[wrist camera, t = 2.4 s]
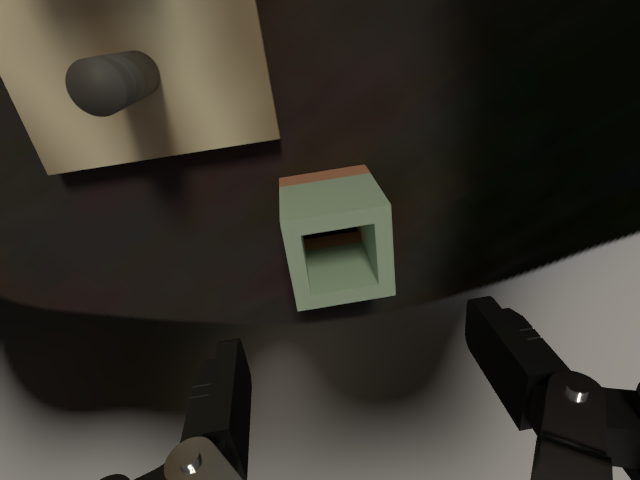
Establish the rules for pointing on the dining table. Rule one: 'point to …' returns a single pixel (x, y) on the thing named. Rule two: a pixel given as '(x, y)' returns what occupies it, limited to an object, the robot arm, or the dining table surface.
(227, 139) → the pin board
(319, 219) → the sage sleeve
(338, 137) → the dining table surface
